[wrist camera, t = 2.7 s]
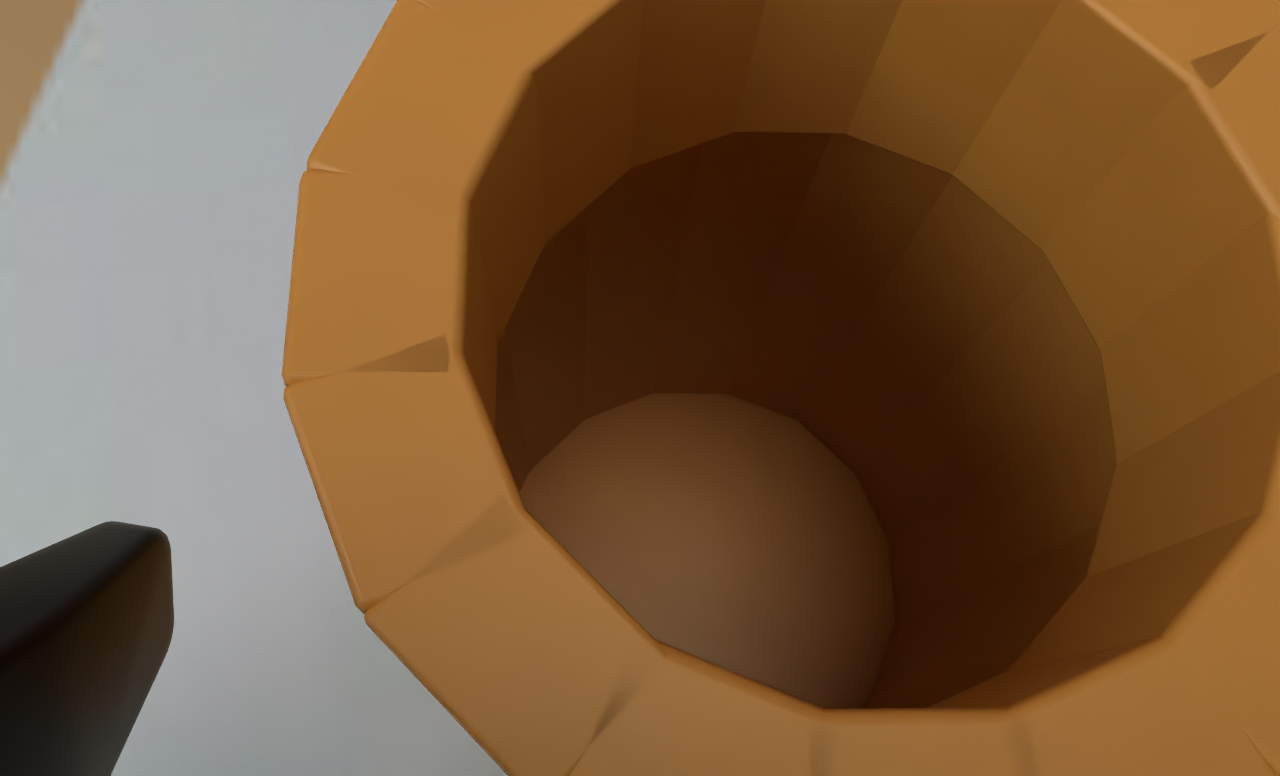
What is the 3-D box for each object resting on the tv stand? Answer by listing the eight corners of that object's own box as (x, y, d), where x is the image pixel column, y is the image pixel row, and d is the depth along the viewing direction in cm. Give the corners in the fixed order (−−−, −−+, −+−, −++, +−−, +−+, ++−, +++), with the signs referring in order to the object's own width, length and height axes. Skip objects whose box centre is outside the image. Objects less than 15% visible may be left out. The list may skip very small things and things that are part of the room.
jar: (825, 895, 17) (1347, 1159, 5) (398, 712, 17) (47, 598, 6) (960, 474, 19) (1539, 23, 7) (576, 322, 19) (573, -317, 8)
